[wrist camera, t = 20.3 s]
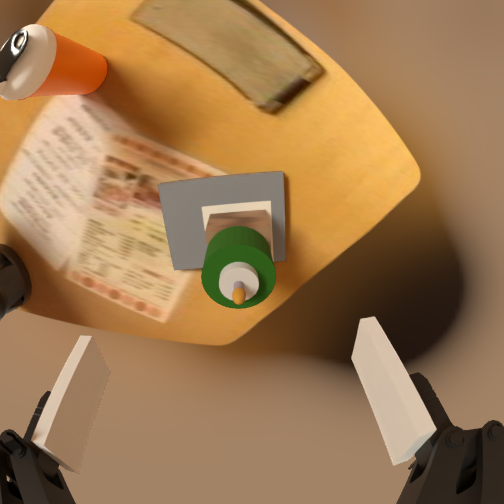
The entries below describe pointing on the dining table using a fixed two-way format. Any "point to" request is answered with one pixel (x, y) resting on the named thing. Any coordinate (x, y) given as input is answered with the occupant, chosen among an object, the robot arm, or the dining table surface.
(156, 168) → the dining table surface
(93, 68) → the shaker bottle
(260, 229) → the block
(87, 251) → the dining table surface
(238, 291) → the candle
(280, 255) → the board
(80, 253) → the dining table surface
